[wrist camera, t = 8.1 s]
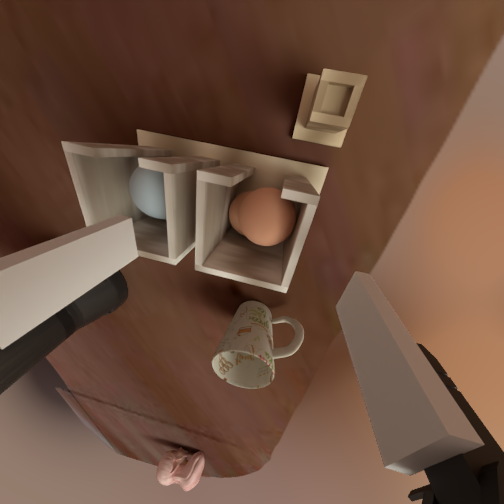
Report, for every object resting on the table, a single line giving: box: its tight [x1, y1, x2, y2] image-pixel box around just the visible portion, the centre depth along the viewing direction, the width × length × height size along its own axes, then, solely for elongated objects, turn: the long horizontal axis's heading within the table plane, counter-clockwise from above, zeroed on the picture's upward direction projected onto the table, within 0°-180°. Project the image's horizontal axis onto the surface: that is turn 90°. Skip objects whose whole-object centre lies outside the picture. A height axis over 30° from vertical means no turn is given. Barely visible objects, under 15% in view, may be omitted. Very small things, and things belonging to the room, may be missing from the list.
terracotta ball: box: [239, 187, 296, 246], centre depth 16 cm, size 5×5×5 cm
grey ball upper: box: [129, 167, 166, 219], centre depth 17 cm, size 5×5×5 cm
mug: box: [212, 301, 304, 389], centre depth 27 cm, size 8×13×10 cm, turn 115°
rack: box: [61, 129, 329, 293], centre depth 19 cm, size 22×11×11 cm, turn 80°
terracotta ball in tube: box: [229, 191, 253, 236], centre depth 21 cm, size 5×5×5 cm
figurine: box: [156, 447, 204, 491], centre depth 73 cm, size 11×12×18 cm
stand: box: [292, 69, 367, 148], centre depth 16 cm, size 5×5×5 cm
